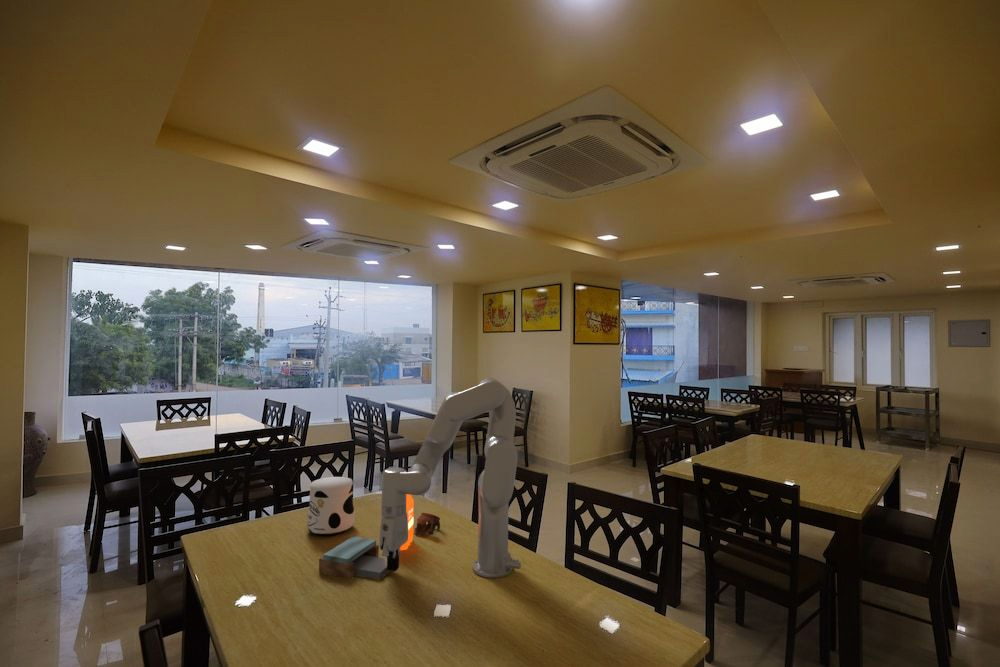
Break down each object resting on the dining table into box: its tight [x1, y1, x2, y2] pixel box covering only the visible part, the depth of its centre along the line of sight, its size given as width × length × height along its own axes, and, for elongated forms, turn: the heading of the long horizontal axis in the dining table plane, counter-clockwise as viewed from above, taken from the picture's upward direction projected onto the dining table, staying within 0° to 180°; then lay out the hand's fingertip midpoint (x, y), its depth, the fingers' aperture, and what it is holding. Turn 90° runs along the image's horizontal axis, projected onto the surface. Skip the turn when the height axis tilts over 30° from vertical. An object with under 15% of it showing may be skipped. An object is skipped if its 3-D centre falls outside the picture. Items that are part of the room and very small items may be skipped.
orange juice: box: [400, 494, 415, 551], centre depth 167 cm, size 8×9×20 cm
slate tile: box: [352, 555, 391, 580], centre depth 149 cm, size 14×9×2 cm, turn 73°
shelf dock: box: [318, 536, 380, 580], centre depth 151 cm, size 12×15×6 cm
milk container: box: [306, 476, 356, 536], centre depth 180 cm, size 17×17×18 cm
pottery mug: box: [413, 512, 441, 537], centre depth 178 cm, size 12×10×8 cm
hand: (392, 569), depth 146 cm, fingers closed
